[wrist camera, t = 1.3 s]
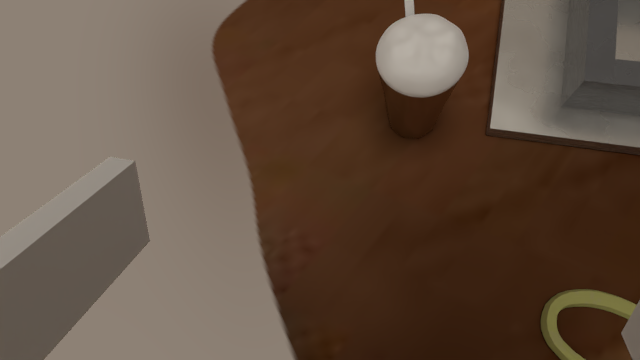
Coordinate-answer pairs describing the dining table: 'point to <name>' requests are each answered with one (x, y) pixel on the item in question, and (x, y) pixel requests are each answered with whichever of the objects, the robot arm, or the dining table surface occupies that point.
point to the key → (578, 300)
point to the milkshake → (419, 69)
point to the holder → (568, 74)
